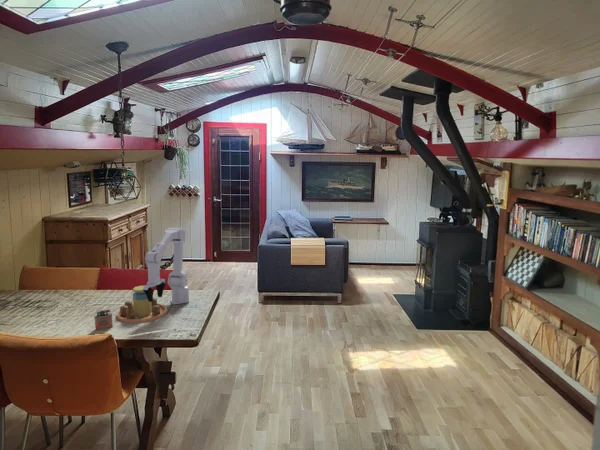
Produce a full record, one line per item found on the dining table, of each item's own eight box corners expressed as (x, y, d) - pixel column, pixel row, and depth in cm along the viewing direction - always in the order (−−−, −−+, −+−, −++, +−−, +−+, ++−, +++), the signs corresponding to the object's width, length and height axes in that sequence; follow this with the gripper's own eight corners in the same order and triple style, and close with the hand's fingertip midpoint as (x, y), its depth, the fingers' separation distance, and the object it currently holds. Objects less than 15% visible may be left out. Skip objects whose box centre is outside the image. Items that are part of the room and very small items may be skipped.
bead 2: (159, 313, 233) (158, 304, 233) (161, 316, 230) (160, 306, 229) (151, 315, 231) (151, 306, 230) (153, 317, 228) (153, 308, 227)
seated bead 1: (128, 314, 233) (127, 305, 232) (128, 316, 229) (128, 307, 228) (120, 315, 231) (119, 306, 230) (120, 317, 227) (120, 308, 227)
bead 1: (156, 306, 245) (156, 297, 244) (157, 308, 241) (157, 299, 240) (149, 307, 243) (148, 298, 242) (150, 309, 239) (149, 300, 239)
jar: (150, 310, 240) (149, 284, 238) (153, 316, 232) (151, 289, 230) (133, 313, 236) (131, 286, 234) (134, 318, 228) (133, 291, 226)
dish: (163, 304, 250) (163, 300, 250) (170, 319, 228) (169, 315, 227) (116, 310, 240) (116, 306, 240) (118, 327, 217) (117, 322, 217)
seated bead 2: (132, 309, 239) (132, 300, 239) (133, 311, 236) (132, 302, 235) (125, 310, 238) (124, 301, 237) (125, 312, 234) (124, 304, 233)
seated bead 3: (134, 317, 228) (133, 308, 227) (135, 320, 224) (134, 310, 224) (126, 318, 226) (125, 309, 226) (126, 321, 223) (126, 311, 222)
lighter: (95, 332, 211) (93, 312, 209) (95, 329, 214) (93, 310, 212) (113, 329, 215) (112, 309, 213) (112, 326, 218) (111, 307, 216)
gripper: (156, 270, 235) (158, 294, 237) (138, 277, 222) (139, 302, 224) (167, 271, 233) (168, 295, 235) (149, 278, 219) (150, 304, 221)
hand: (155, 299), depth 229 cm, fingers open, 7 cm apart
